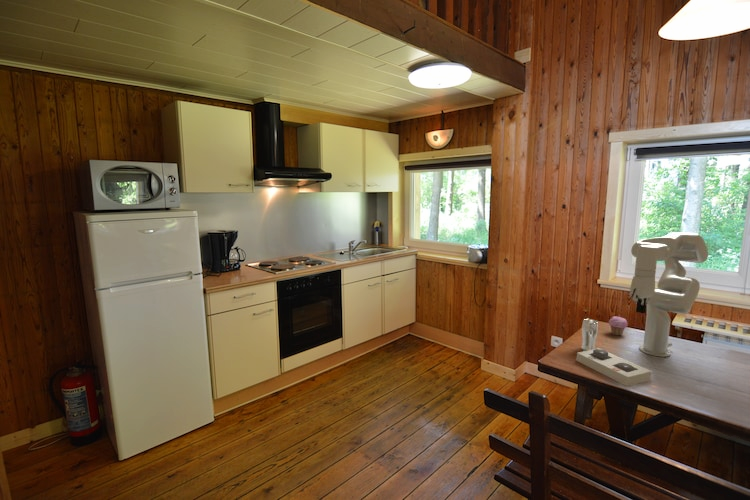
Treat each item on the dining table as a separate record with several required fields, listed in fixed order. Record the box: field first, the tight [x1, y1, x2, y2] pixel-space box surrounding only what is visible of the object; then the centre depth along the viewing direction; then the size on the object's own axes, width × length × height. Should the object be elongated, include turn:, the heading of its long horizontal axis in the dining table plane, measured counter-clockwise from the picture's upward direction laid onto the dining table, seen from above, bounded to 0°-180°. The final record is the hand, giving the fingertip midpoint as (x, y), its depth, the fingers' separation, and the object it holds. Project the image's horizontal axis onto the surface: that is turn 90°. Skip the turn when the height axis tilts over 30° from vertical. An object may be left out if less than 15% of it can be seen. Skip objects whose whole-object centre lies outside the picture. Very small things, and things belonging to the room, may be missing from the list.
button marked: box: [617, 363, 634, 372], centre depth 163 cm, size 6×6×3 cm
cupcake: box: [608, 315, 628, 336], centre depth 209 cm, size 9×9×10 cm
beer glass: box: [580, 318, 599, 351], centre depth 190 cm, size 7×7×15 cm
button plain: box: [593, 348, 609, 360], centre depth 174 cm, size 6×6×3 cm
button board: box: [576, 347, 652, 387], centre depth 169 cm, size 14×25×4 cm, turn 20°
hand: (640, 312), depth 170 cm, fingers closed
